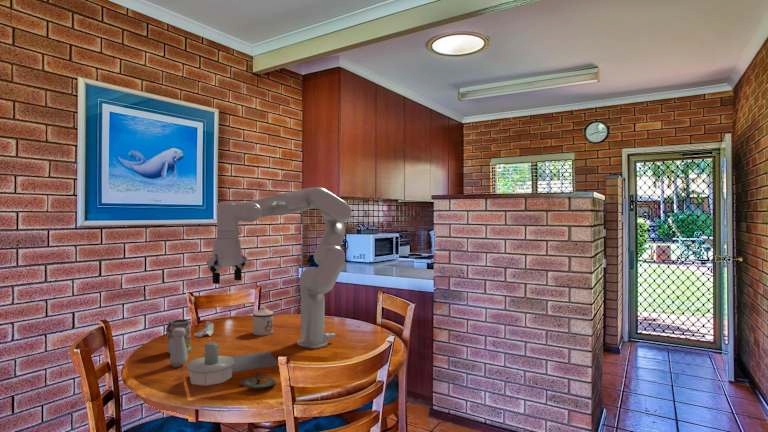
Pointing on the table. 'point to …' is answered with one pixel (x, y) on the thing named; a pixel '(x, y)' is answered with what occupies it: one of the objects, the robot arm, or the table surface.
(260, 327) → the teacup with lid
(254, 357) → the mat
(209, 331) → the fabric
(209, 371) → the cover
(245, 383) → the lid
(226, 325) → the table surface
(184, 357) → the salt shaker
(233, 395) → the table surface
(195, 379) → the bowl
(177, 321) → the grey jar
